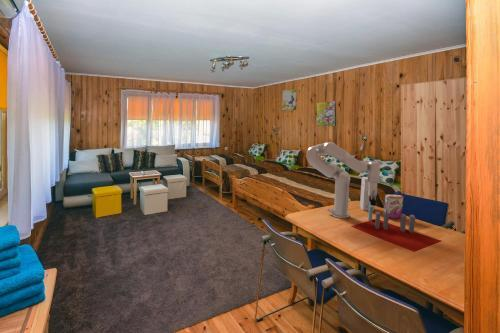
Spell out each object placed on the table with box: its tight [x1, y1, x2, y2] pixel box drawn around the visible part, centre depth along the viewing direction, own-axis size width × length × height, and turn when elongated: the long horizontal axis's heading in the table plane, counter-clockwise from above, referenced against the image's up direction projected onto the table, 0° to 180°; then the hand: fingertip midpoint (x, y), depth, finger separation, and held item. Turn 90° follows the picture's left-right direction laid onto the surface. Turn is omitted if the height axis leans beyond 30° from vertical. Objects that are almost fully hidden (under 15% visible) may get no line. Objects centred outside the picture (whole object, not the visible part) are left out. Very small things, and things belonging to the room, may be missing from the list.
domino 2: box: [374, 211, 381, 230], centre depth 187 cm, size 2×5×10 cm, turn 163°
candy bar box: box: [382, 194, 404, 219], centre depth 206 cm, size 11×5×16 cm, turn 84°
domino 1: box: [367, 205, 373, 222], centre depth 202 cm, size 2×5×10 cm, turn 163°
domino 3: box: [382, 211, 390, 231], centre depth 186 cm, size 2×5×10 cm, turn 163°
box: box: [359, 176, 375, 211], centre depth 225 cm, size 8×8×25 cm
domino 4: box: [399, 213, 407, 233], centre depth 183 cm, size 2×5×10 cm, turn 163°
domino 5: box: [408, 214, 416, 233], centre depth 181 cm, size 2×5×10 cm, turn 162°
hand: (372, 203), depth 201 cm, fingers open, 9 cm apart
